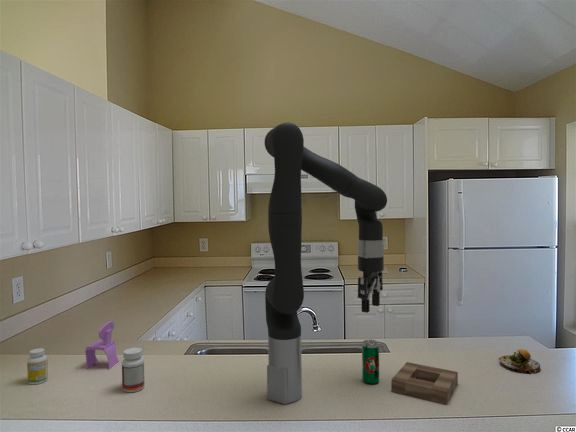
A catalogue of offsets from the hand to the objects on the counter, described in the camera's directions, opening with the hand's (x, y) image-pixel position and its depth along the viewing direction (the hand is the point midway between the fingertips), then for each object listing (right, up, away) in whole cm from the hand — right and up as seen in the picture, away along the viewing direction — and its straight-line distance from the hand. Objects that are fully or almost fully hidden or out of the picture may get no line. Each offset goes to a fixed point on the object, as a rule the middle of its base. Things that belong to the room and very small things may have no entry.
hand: (370, 308), depth 124 cm
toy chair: (-87, -23, +16) cm, 92 cm away
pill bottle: (-70, -23, -2) cm, 74 cm away
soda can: (0, -22, +1) cm, 22 cm away
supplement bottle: (-102, -24, +4) cm, 105 cm away
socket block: (+15, -22, -4) cm, 27 cm away
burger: (+50, -22, +10) cm, 56 cm away
